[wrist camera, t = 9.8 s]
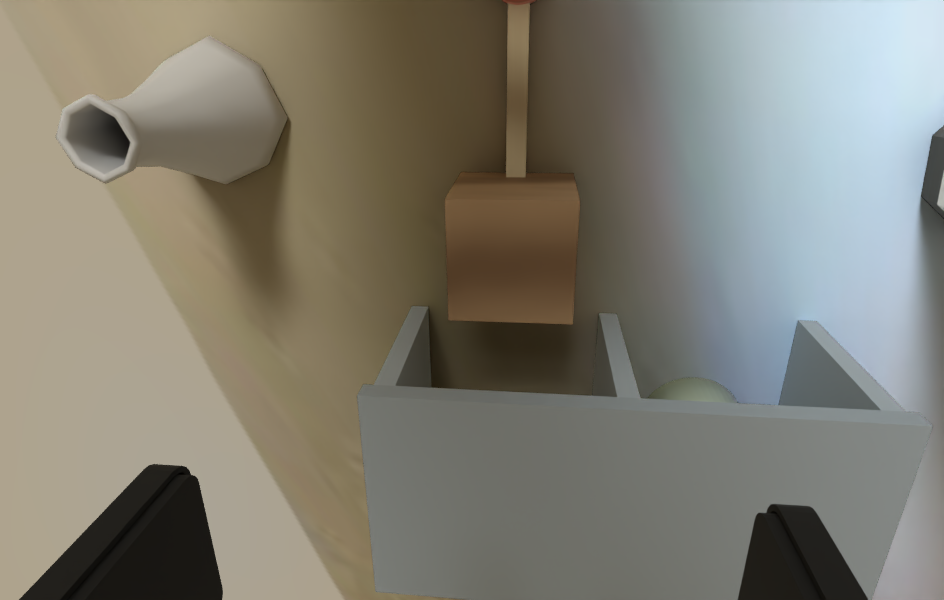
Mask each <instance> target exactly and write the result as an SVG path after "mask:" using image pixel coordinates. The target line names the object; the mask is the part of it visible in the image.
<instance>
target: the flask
mask: <svg viewBox="0 0 944 600" xmlns="http://www.w3.org/2000/svg"><path fill="white" fill-rule="evenodd" d="M287 118H288V117H287V116H286V114H285V112H284V110H283V108H282V106H281V104H280V102H279V100H278V98H277V96H276V95H275V93H274V91H273V89H272V87H271V85H270V83H269V81H268V79H267V77H266V76H265V74H264V72H263V70H262V68H261V66H260V65H259V64H258V63H256V62H254V61H252V60H251V59H249V58H247V57H246V56H244V55H242V54H240V53H239V52H237V51H235V50H234V49H232V48H230V47H228V46H227V45H225V44H223V43H222V42H220V41H218V40H216V39H215V38H213V37H211V36H210V35H209V36H207V37H205V38H204V39H202V40H200V41H198V42H196V43H195V44H193V45H191V46H189V47H187V48H185V49H184V50H182V51H180V52H178V53H176V54H175V55H173V56H171V57H169V58H167V59H166V60H164V61H163V62H162V63H161V64H160V65H159V66H158V67H157V68H156V69H155V71H154V72H153V73H152V74H151V75H150V76H149V77H148V78H147V79H146V80H145V81H144V82H143V83H142V84H141V85H140V86H139V87H138V88H137V89H136V90H134V91H133V92H132V93H131V94H130V95H129V96H127V97H124V98H121V99H115V100H108V101H106V100H104V99H102V98H100V97H99V96H97V95H94V94H89V95H86V96H84V97H82V98H81V99H79V100H77V101H75V102H74V103H72V104H70V105H68V106H66V107H65V108H63V109H62V114H61V118H60V122H59V126H58V131H57V134H56V139H57V140H58V142H59V143H60V145H61V146H62V148H63V149H64V151H65V152H66V154H67V156H68V157H69V159H70V160H71V161H72V163H73V165H74V166H75V168H77V169H79V170H81V171H83V172H85V173H86V174H89V175H90V176H92V177H94V178H96V179H98V180H99V181H101V182H103V183H109V182H111V181H113V180H115V179H117V178H119V177H121V176H123V175H125V174H127V173H129V172H131V171H133V170H134V169H135V168H136V167H155V166H161V167H165V168H169V169H173V170H177V171H181V172H185V173H189V174H193V175H197V176H200V177H203V178H206V179H209V180H213V181H216V182H219V183H223V184H228V183H230V182H233V181H235V180H237V179H239V178H241V177H243V176H245V175H247V174H250V173H252V172H254V171H256V170H258V169H260V168H262V167H264V166H267V165H269V162H270V160H271V157H272V155H273V153H274V150H275V148H276V145H277V143H278V140H279V138H280V135H281V133H282V130H283V128H284V126H285V123H286V121H287Z"/></svg>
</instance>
